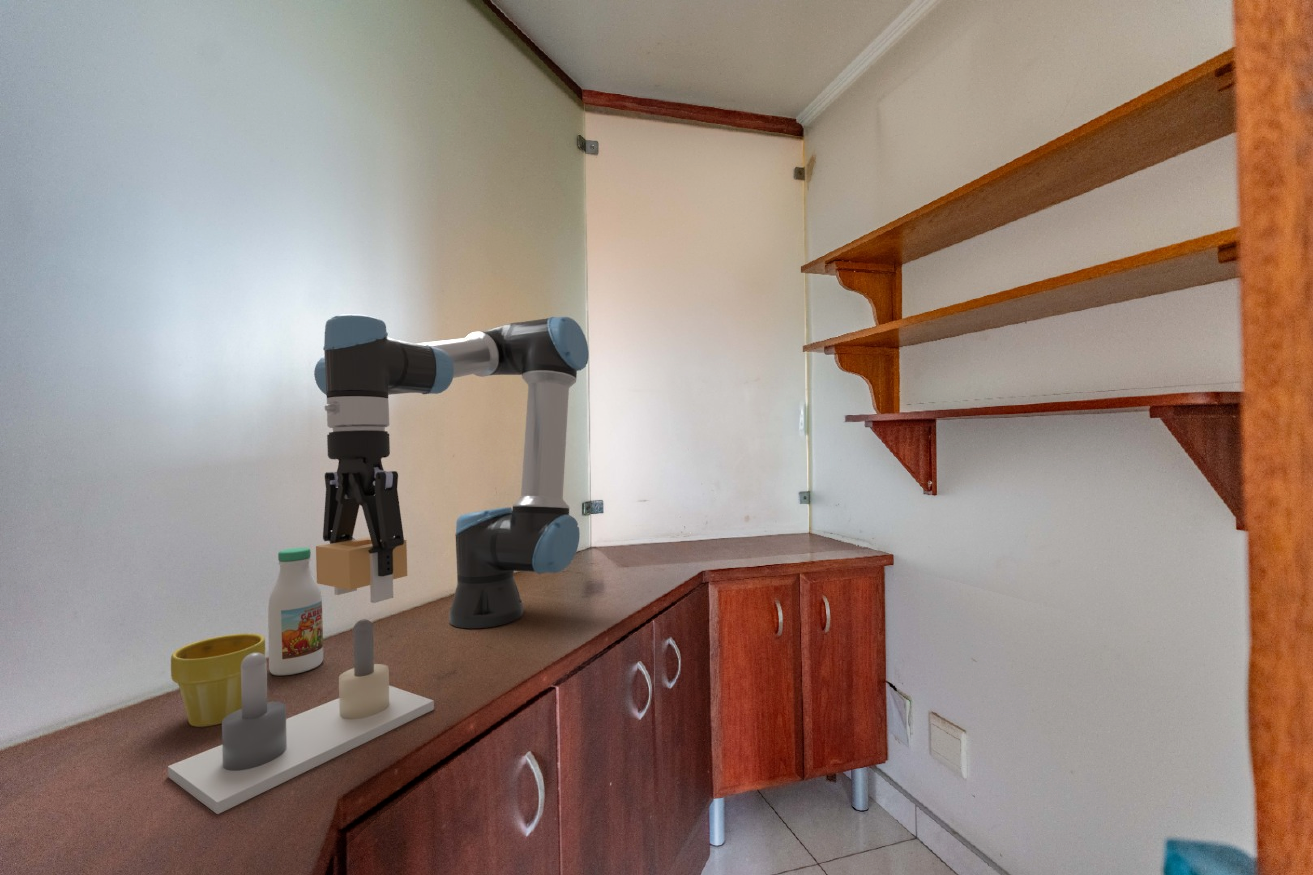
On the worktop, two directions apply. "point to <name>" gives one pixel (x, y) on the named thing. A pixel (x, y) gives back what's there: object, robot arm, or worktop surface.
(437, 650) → the worktop surface
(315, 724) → the assembly board
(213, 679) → the plant pot
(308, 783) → the worktop surface
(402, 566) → the collar
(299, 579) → the milk bottle
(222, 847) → the worktop surface
